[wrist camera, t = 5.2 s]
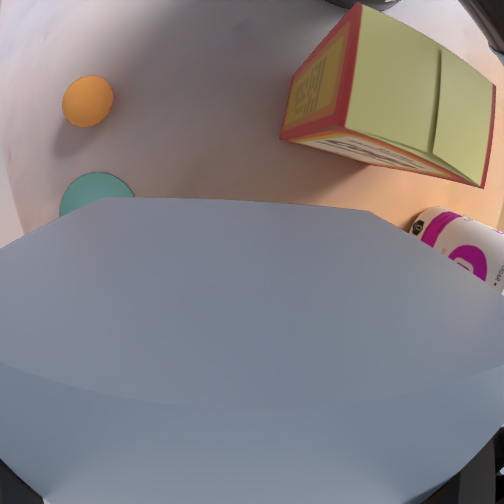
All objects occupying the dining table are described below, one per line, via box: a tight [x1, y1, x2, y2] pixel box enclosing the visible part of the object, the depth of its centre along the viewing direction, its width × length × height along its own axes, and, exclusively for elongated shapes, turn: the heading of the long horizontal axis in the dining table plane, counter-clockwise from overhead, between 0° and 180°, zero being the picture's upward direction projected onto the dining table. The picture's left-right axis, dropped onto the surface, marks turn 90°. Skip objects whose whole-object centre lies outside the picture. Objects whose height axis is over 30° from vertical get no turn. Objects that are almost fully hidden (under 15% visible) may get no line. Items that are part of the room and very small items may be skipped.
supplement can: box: [409, 206, 504, 296], centre depth 22 cm, size 8×8×15 cm
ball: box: [62, 76, 113, 127], centre depth 20 cm, size 5×5×5 cm
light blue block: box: [0, 197, 504, 504], centre depth 8 cm, size 10×10×9 cm
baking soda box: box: [280, 2, 496, 189], centre depth 17 cm, size 10×6×16 cm
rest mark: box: [60, 172, 134, 217], centre depth 26 cm, size 10×10×1 cm
